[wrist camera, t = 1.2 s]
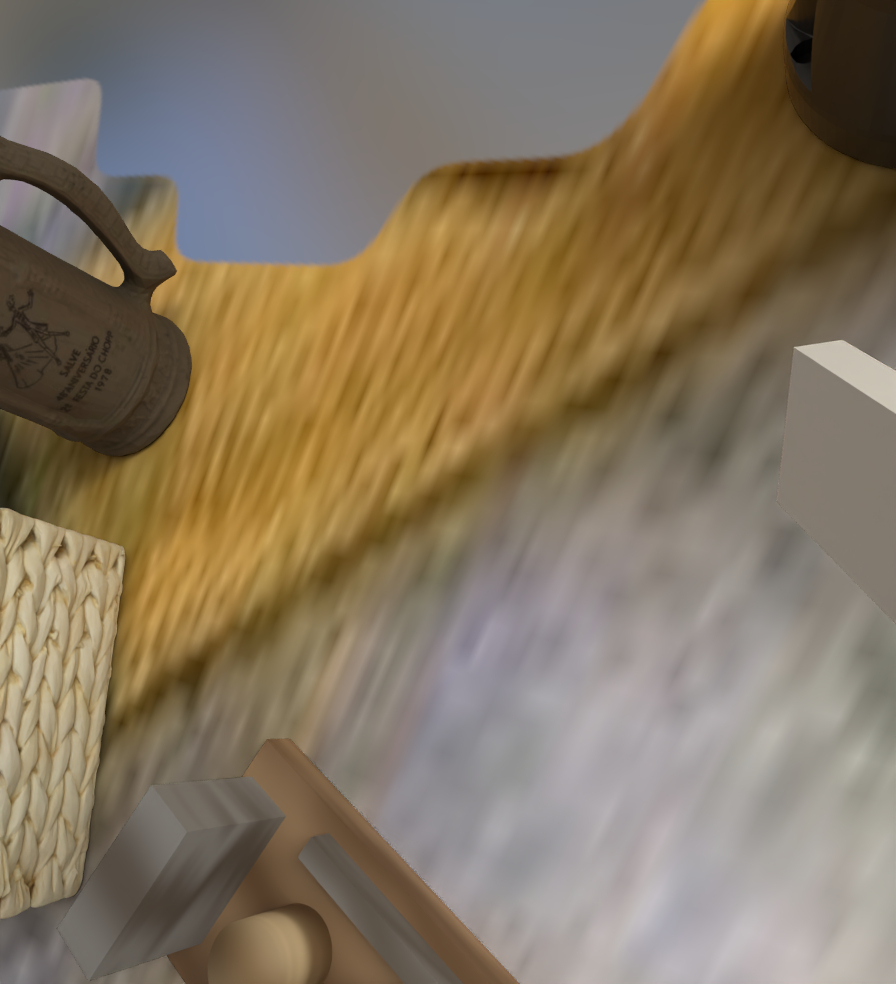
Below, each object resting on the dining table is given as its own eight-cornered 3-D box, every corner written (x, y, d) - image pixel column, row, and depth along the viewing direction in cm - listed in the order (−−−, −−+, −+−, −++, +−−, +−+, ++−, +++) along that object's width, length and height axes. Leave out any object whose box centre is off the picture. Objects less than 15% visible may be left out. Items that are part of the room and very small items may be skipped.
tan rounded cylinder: (294, 884, 39) (241, 899, 36) (347, 947, 37) (295, 970, 34) (250, 950, 40) (193, 971, 36) (300, 1016, 37) (244, 1046, 34)
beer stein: (134, 492, 54) (-183, 358, 37) (55, 431, 60) (-255, 290, 43) (255, 304, 55) (0, 89, 38) (166, 261, 61) (-92, 56, 44)
